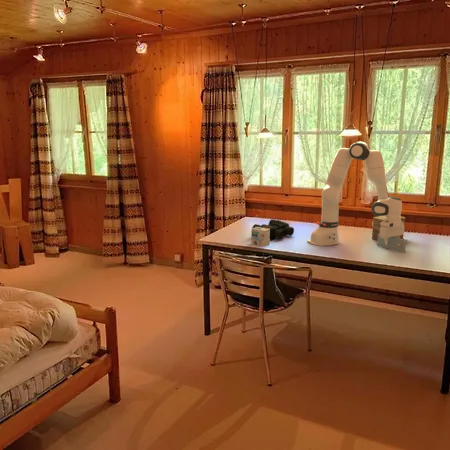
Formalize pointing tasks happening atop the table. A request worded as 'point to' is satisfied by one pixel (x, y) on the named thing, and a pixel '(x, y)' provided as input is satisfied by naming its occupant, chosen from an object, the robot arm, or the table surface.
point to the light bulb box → (260, 236)
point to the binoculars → (277, 229)
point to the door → (393, 243)
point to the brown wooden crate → (377, 226)
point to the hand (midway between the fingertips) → (391, 243)
